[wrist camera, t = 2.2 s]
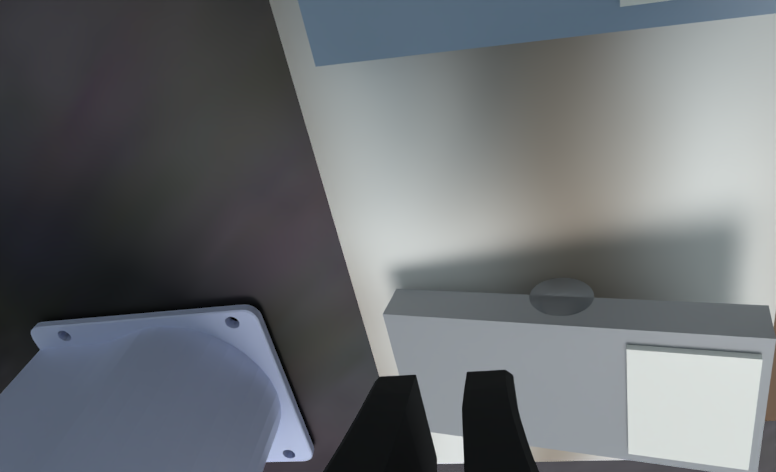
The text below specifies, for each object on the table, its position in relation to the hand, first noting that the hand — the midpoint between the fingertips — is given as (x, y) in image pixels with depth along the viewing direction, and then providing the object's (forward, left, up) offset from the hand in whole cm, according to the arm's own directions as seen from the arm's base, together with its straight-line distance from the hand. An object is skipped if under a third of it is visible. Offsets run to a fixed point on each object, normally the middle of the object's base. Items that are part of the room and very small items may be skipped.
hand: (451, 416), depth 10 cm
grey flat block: (+2, -3, -5) cm, 6 cm away
